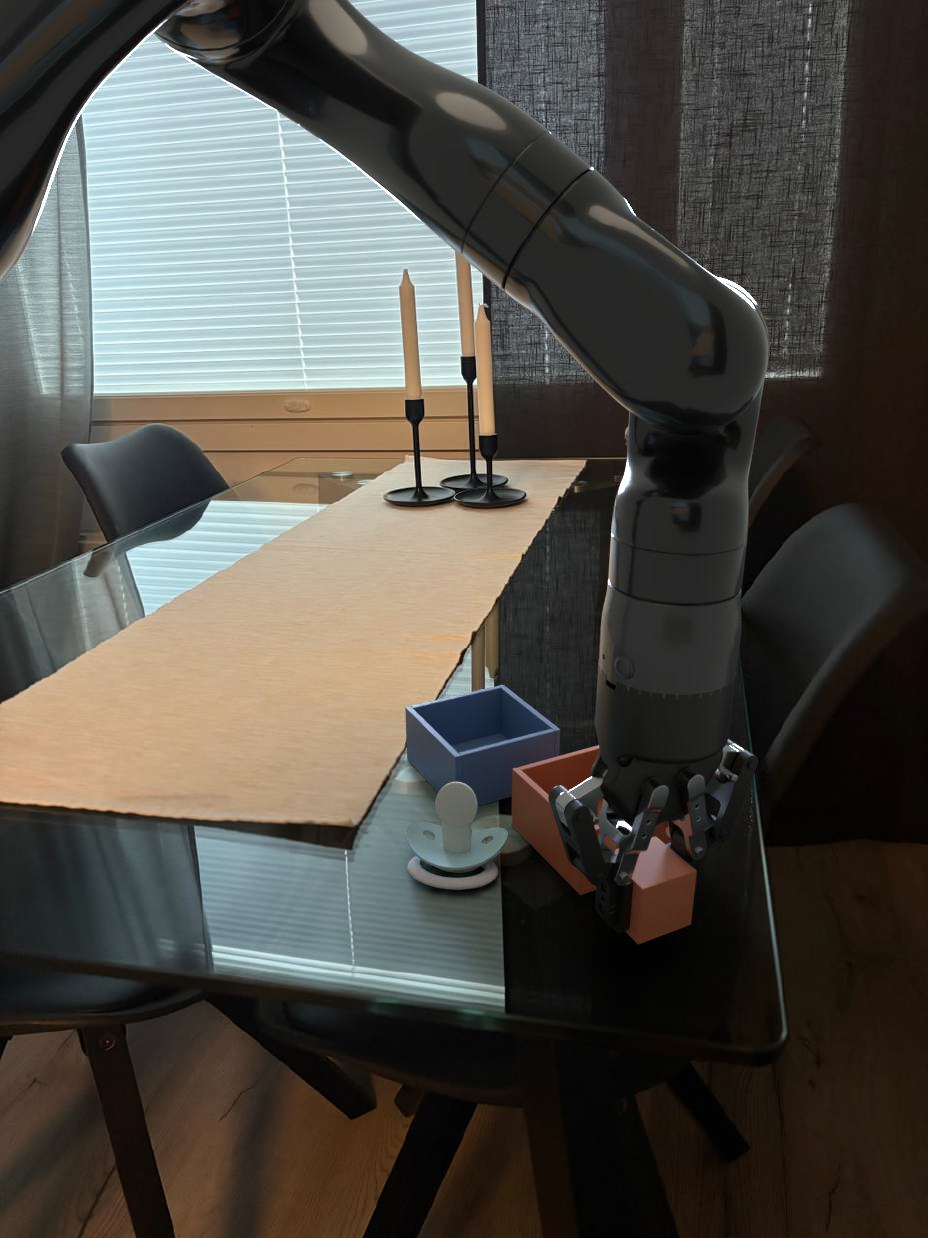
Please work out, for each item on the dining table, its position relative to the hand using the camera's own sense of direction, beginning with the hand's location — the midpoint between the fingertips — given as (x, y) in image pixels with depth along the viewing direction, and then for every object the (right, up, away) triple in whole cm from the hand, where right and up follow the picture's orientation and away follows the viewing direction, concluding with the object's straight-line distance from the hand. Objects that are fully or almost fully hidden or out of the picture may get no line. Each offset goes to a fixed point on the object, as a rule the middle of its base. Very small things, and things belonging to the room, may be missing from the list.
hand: (644, 911), depth 59 cm
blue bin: (-10, +5, +22) cm, 24 cm away
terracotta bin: (-1, +2, +12) cm, 12 cm away
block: (0, 0, 0) cm, 0 cm away
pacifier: (-12, 0, +9) cm, 15 cm away
